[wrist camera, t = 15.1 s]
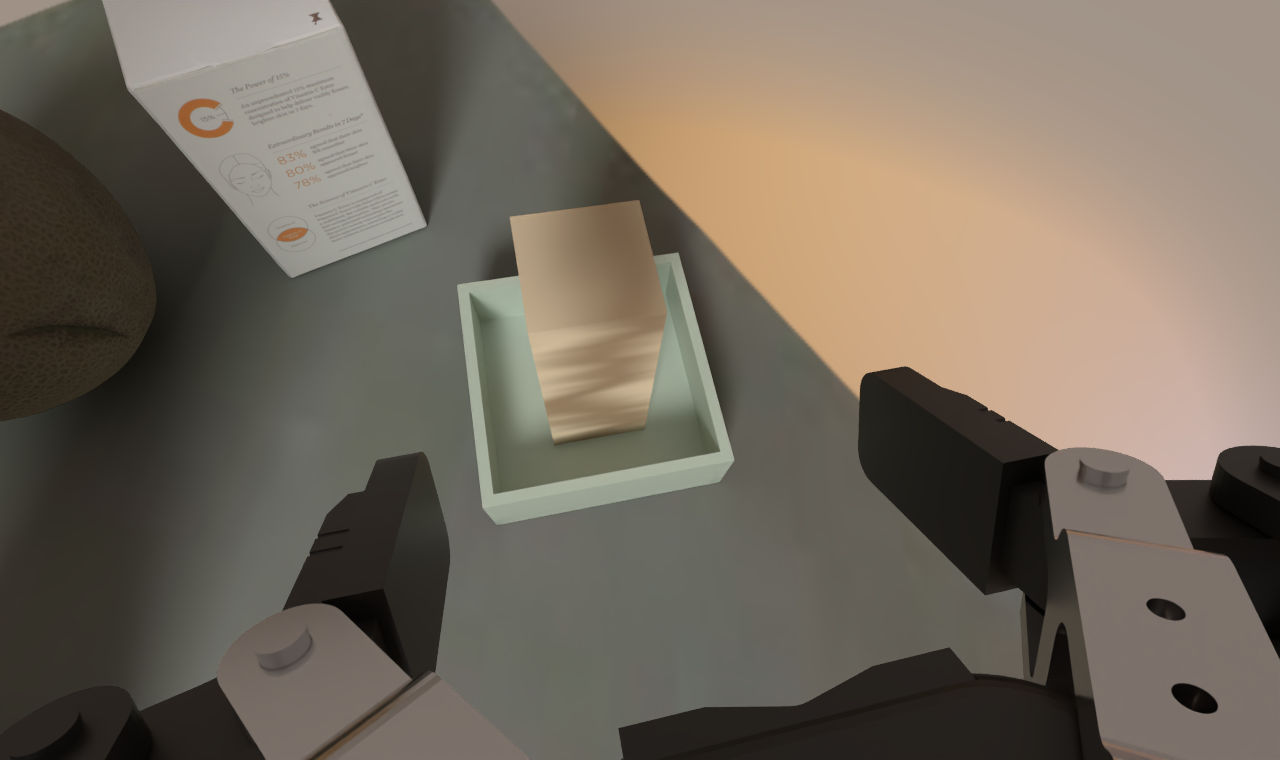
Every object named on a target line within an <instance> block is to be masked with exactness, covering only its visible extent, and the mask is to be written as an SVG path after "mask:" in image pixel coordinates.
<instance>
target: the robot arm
mask: <svg viewBox="0 0 1280 760" xmlns="http://www.w3.org/2000/svg"><path fill="white" fill-rule="evenodd" d="M858 452H859V459H860V462H861V466H862V468H863V471H864V473H865V474H866V476H867V478H868V479H869V480H870V481H871V482H872V483H873V484H874V485H875V486H876V487H877V488H878V489H879V490H880V491H881V492H882V493H883V494H884V495H885V496H886V497H887V498H888V499H889V500H890V501H891V502H892V503H893V504H894V505H895V506H896V507H897V508H898V509H899V510H900V511H901V512H902V513H903V514H904V515H905V516H906V517H907V518H908V519H909V520H910V521H911V522H912V523H913V524H914V525H915V526H916V527H917V528H918V529H919V530H920V531H921V532H922V533H923V534H924V535H925V536H926V537H927V538H928V539H929V540H930V541H931V542H932V543H933V544H934V545H935V546H936V547H937V548H938V549H939V550H940V551H941V552H942V553H943V554H944V555H945V556H946V557H947V558H948V559H949V560H950V561H951V562H952V563H953V564H954V565H955V566H956V567H957V568H958V569H959V570H960V571H961V572H962V573H963V574H964V575H965V576H966V577H967V578H968V579H969V580H970V581H971V582H972V583H973V584H974V585H975V586H976V587H977V588H978V589H979V590H980V591H981V592H982V593H983V594H984V595H989V594H993V593H997V592H1002V591H1006V590H1010V589H1014V588H1019V589H1020V590H1021V591H1023V597H1022V603H1021V610H1020V617H1021V637H1022V656H1023V675H1024V680H1022V679H1017V678H1012V677H1006V676H1000V675H989V674H971V673H970V671H969V670H968V669H967V668H966V667H965V665H964V664H963V663H962V662H961V661H960V659H959V658H958V657H957V656H956V655H955V653H954V652H953V651H952V650H951V649H950V647H949V648H945V649H941V650H937V651H933V652H929V653H925V654H921V655H917V656H913V657H908V658H904V659H900V660H896V661H892V662H888V663H884V664H880V665H876V666H872V667H870V668H868V669H867V670H865V671H863V672H861V673H859V674H858V675H856V676H854V677H852V678H850V679H848V680H847V681H845V682H843V683H841V684H839V685H838V686H836V687H834V688H832V689H830V690H828V691H827V692H825V693H823V694H821V695H819V696H818V697H816V698H814V699H812V700H810V701H809V702H806V703H804V704H802V705H797V706H781V707H704V708H700V709H696V710H691V711H687V712H683V713H679V714H675V715H671V716H667V717H663V718H659V719H655V720H651V721H646V722H642V723H638V724H634V725H630V726H626V727H622V728H618V729H619V735H620V741H621V747H622V753H623V759H621V760H1280V448H1276V447H1267V446H1239V447H1233V448H1229V449H1227V450H1224V451H1223V452H1221V453H1220V454H1219V457H1218V459H1217V463H1216V467H1215V470H1214V473H1213V477H1212V480H1164V478H1163V476H1162V475H1161V474H1160V473H1159V472H1158V471H1157V470H1156V469H1154V468H1153V467H1152V466H1150V465H1148V464H1146V463H1145V462H1143V461H1141V460H1138V459H1136V458H1133V457H1131V456H1128V455H1125V454H1121V453H1118V452H1114V451H1109V450H1103V449H1096V448H1068V449H1063V450H1057V449H1056V448H1054V447H1052V446H1051V445H1049V444H1047V443H1046V442H1044V441H1042V440H1041V439H1039V438H1037V437H1036V436H1034V435H1032V434H1031V433H1029V432H1027V431H1026V430H1024V429H1022V428H1021V427H1019V426H1017V425H1016V424H1014V423H1012V422H1011V421H1005V418H1004V417H1002V416H1001V415H999V414H997V413H995V412H994V411H992V410H991V411H988V408H987V407H986V406H984V405H982V404H981V403H979V402H977V401H976V400H974V399H972V398H971V397H969V396H967V395H964V394H961V393H958V392H955V391H952V390H949V389H946V388H942V387H940V386H939V385H937V384H936V383H934V382H932V381H931V380H929V379H927V378H926V377H924V376H922V375H921V374H919V373H917V372H916V371H914V370H913V369H911V368H909V367H899V368H894V369H888V370H882V371H877V372H872V373H867V374H865V375H864V377H863V378H862V381H861V385H860V407H859V437H858ZM449 566H450V548H449V539H448V533H447V529H446V525H445V521H444V517H443V513H442V510H441V506H440V502H439V499H438V495H437V491H436V488H435V484H434V480H433V476H432V473H431V469H430V466H429V462H428V460H427V457H426V455H425V454H424V453H423V452H419V453H413V454H408V455H402V456H396V457H391V458H385V459H380V460H377V461H376V463H375V466H374V468H373V471H372V473H371V476H370V478H369V481H368V484H367V486H366V489H365V491H362V492H357V493H352V494H348V495H347V496H346V497H345V498H344V499H343V500H342V501H341V502H340V503H338V504H337V505H336V506H335V507H334V508H333V509H332V510H331V511H330V512H329V513H328V514H327V516H326V518H325V520H324V522H323V524H322V526H321V528H320V531H319V533H318V539H315V541H314V544H313V546H312V548H311V550H310V556H308V557H307V559H306V561H305V563H304V565H303V567H302V569H301V571H300V574H299V576H298V578H297V580H296V582H295V584H294V587H293V589H292V591H291V593H290V595H289V597H288V599H287V602H286V604H285V606H284V608H283V610H282V611H281V612H279V613H276V614H274V615H272V616H270V617H268V618H266V619H264V620H262V621H261V622H259V623H258V624H256V625H254V626H253V627H252V628H250V629H249V630H248V631H246V632H245V633H244V634H242V635H241V636H240V637H239V638H238V639H237V640H236V641H235V642H234V643H233V644H232V645H231V646H230V647H229V649H228V650H227V651H226V653H225V654H224V656H223V657H222V659H221V661H220V663H219V666H218V670H217V677H216V678H215V679H213V680H211V681H208V682H206V683H204V684H202V685H200V686H198V687H195V688H193V689H190V690H188V691H186V692H183V693H181V694H179V695H176V696H174V697H172V698H169V699H167V700H165V701H162V702H160V703H158V704H155V705H153V706H151V707H148V708H146V709H144V710H141V711H139V710H138V708H137V706H136V705H135V703H134V701H133V700H132V698H131V696H130V694H129V693H128V692H127V691H126V690H124V689H122V688H119V687H114V686H101V687H94V688H89V689H85V690H82V691H78V692H75V693H72V694H70V695H67V696H65V697H62V698H60V699H58V700H55V701H53V702H51V703H49V704H47V705H45V706H43V707H42V708H40V709H38V710H36V711H34V712H33V713H31V714H29V715H28V716H26V717H25V718H23V719H22V720H20V721H19V722H17V723H16V724H14V725H13V726H12V727H10V728H9V729H7V730H6V731H5V732H4V733H3V734H1V735H0V760H531V759H530V758H529V757H527V756H526V755H525V754H524V753H523V752H522V751H521V750H520V749H519V748H518V747H516V746H515V745H514V744H513V743H512V742H511V741H510V740H509V739H508V738H507V737H506V736H504V735H503V734H502V733H501V732H500V731H499V730H498V729H497V728H496V727H495V726H493V725H492V724H491V723H490V722H489V721H488V720H487V719H486V718H485V717H484V716H483V715H481V714H480V713H479V712H478V711H477V710H476V709H475V708H474V707H473V706H472V705H470V704H469V703H468V702H467V701H466V700H465V699H464V698H463V697H462V696H461V695H460V694H458V693H457V692H456V691H455V690H454V689H453V688H452V687H451V686H450V685H449V684H447V683H446V682H445V681H444V680H443V679H442V678H441V677H440V676H438V675H437V674H435V669H436V662H437V654H438V647H439V640H440V632H441V625H442V617H443V610H444V603H445V595H446V588H447V580H448V573H449Z"/></svg>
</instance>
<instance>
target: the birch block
mask: <svg viewBox="0 0 1280 760" xmlns="http://www.w3.org/2000/svg"><path fill="white" fill-rule="evenodd" d="M510 222H511V228H512V235H513V241H514V248H515V254H516V261H517V267H518V273H519V280H520V286H521V293H522V299H523V306H524V312H525V319H526V325H527V332H528V336H529V341H530V345H531V349H532V353H533V358H534V362H535V366H536V370H537V374H538V379H539V383H540V387H541V391H542V396H543V400H544V404H545V408H546V412H547V417H548V421H549V425H550V429H551V434H552V438H553V442H554V445H559V444H565V443H570V442H576V441H582V440H587V439H593V438H598V437H604V436H609V435H615V434H621V433H626V432H632V431H637V430H643V429H645V425H646V419H647V414H648V409H649V404H650V399H651V393H652V388H653V383H654V378H655V373H656V367H657V362H658V357H659V352H660V347H661V341H662V336H663V331H664V326H665V320H666V315H667V309H666V305H665V301H664V297H663V293H662V289H661V285H660V281H659V277H658V273H657V269H656V265H655V261H654V257H653V253H652V249H651V245H650V241H649V237H648V233H647V229H646V225H645V221H644V217H643V213H642V209H641V205H640V201H639V200H634V201H627V202H619V203H612V204H604V205H597V206H589V207H582V208H574V209H566V210H559V211H551V212H544V213H536V214H529V215H521V216H514V217H510Z"/></svg>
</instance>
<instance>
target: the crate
mask: <svg viewBox="0 0 1280 760" xmlns="http://www.w3.org/2000/svg"><path fill="white" fill-rule="evenodd" d="M653 257H654V261H655V265H656V269H657V273H658V277H659V281H660V285H661V289H662V293H663V297H664V301H665V305H666V309H667V315H666V320H665V326H664V331H663V336H662V341H661V347H660V352H659V357H658V362H657V367H656V373H655V378H654V383H653V388H652V393H651V399H650V404H649V409H648V414H647V419H646V425H645V429H643V430H637V431H632V432H626V433H621V434H615V435H609V436H604V437H598V438H593V439H587V440H582V441H576V442H570V443H565V444H559V445H554V442H553V438H552V434H551V429H550V425H549V421H548V417H547V412H546V408H545V404H544V400H543V396H542V391H541V387H540V383H539V379H538V374H537V370H536V366H535V362H534V358H533V353H532V349H531V345H530V341H529V336H528V332H527V325H526V319H525V312H524V306H523V299H522V293H521V286H520V280H519V276H513V277H507V278H500V279H493V280H486V281H479V282H472V283H465V284H458V285H457V287H458V295H459V304H460V313H461V322H462V330H463V339H464V348H465V357H466V366H467V374H468V383H469V392H470V401H471V410H472V418H473V427H474V436H475V445H476V453H477V462H478V471H479V480H480V489H481V497H482V506H483V509H484V510H485V511H486V513H487V514H488V515H489V516H490V517H491V519H492V520H493V521H494V522H495V523H496V524H497V525H501V524H506V523H511V522H516V521H521V520H526V519H532V518H537V517H542V516H547V515H552V514H557V513H563V512H568V511H573V510H578V509H583V508H588V507H593V506H599V505H604V504H609V503H614V502H619V501H624V500H629V499H635V498H640V497H645V496H650V495H655V494H660V493H666V492H671V491H676V490H681V489H686V488H691V487H696V486H702V485H707V484H712V483H717V482H720V480H721V479H722V477H723V476H724V474H725V473H726V472H727V470H728V469H729V467H730V466H731V464H732V463H733V462H734V457H733V453H732V450H731V446H730V442H729V439H728V435H727V431H726V427H725V424H724V420H723V416H722V413H721V409H720V405H719V401H718V398H717V394H716V390H715V387H714V383H713V379H712V375H711V372H710V368H709V364H708V361H707V357H706V353H705V350H704V346H703V342H702V338H701V335H700V331H699V327H698V324H697V320H696V316H695V312H694V309H693V305H692V301H691V298H690V294H689V290H688V286H687V283H686V279H685V275H684V272H683V268H682V264H681V261H680V257H679V253H672V254H665V255H658V256H653Z"/></svg>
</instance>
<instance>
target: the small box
mask: <svg viewBox="0 0 1280 760" xmlns="http://www.w3.org/2000/svg"><path fill="white" fill-rule="evenodd" d="M102 2H103V6H104V9H105V13H106V16H107V20H108V23H109V27H110V30H111V34H112V37H113V41H114V44H115V48H116V51H117V55H118V58H119V62H120V65H121V69H122V73H123V76H124V80H125V83H126V87H127V89H128V91H129V92H130V93H131V94H132V95H133V96H134V97H135V98H136V100H137V101H138V102H139V103H140V104H141V105H142V106H143V107H144V109H145V110H146V111H147V112H148V113H149V114H150V115H151V117H152V118H153V119H154V120H155V121H156V122H157V123H158V124H159V126H160V127H161V128H162V129H163V130H164V131H165V133H166V134H167V135H168V136H169V137H170V138H171V140H172V141H173V142H174V143H175V144H176V145H177V147H178V148H179V149H180V150H181V151H182V152H183V154H184V155H185V156H186V157H187V158H188V160H189V161H190V162H191V163H192V164H193V165H194V167H195V168H196V169H197V170H198V171H199V172H200V173H201V175H202V176H203V177H204V178H205V179H206V180H207V182H208V183H209V184H210V185H211V186H212V188H213V189H214V190H215V191H216V192H217V193H218V195H219V196H220V197H221V198H222V199H223V200H224V202H225V203H226V204H227V205H228V206H229V208H230V209H231V210H232V211H233V212H234V213H235V215H236V216H237V217H238V218H239V219H240V221H241V222H242V223H243V224H244V225H245V226H246V228H247V229H248V230H249V231H250V232H251V233H252V235H253V236H254V237H255V238H256V239H257V240H258V242H259V243H260V244H261V245H262V246H263V247H264V249H265V250H266V251H267V252H268V253H269V254H270V256H271V257H272V258H273V259H274V260H275V261H276V263H277V264H278V265H279V266H280V267H281V268H282V269H283V271H284V272H285V273H286V274H287V275H288V276H289V277H291V278H294V277H296V276H299V275H301V274H303V273H306V272H309V271H311V270H314V269H316V268H319V267H322V266H324V265H327V264H330V263H332V262H335V261H338V260H340V259H343V258H345V257H348V256H351V255H353V254H356V253H359V252H361V251H364V250H366V249H369V248H372V247H374V246H377V245H379V244H382V243H385V242H387V241H390V240H392V239H395V238H398V237H400V236H403V235H405V234H408V233H411V232H413V231H416V230H418V229H421V228H424V227H426V226H427V224H426V221H425V218H424V216H423V213H422V211H421V208H420V206H419V203H418V201H417V198H416V196H415V193H414V191H413V188H412V186H411V183H410V181H409V178H408V176H407V173H406V171H405V169H404V166H403V164H402V162H401V159H400V157H399V155H398V152H397V150H396V148H395V145H394V143H393V141H392V138H391V136H390V134H389V131H388V129H387V127H386V124H385V122H384V120H383V117H382V115H381V113H380V110H379V108H378V106H377V103H376V101H375V99H374V96H373V94H372V91H371V89H370V87H369V84H368V82H367V80H366V77H365V75H364V72H363V70H362V68H361V65H360V63H359V61H358V58H357V56H356V53H355V51H354V49H353V46H352V44H351V42H350V39H349V37H348V35H347V32H346V30H345V27H344V26H343V24H342V22H341V20H340V19H339V17H338V15H337V13H336V11H335V9H334V7H333V5H332V4H331V2H330V0H102Z"/></svg>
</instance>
